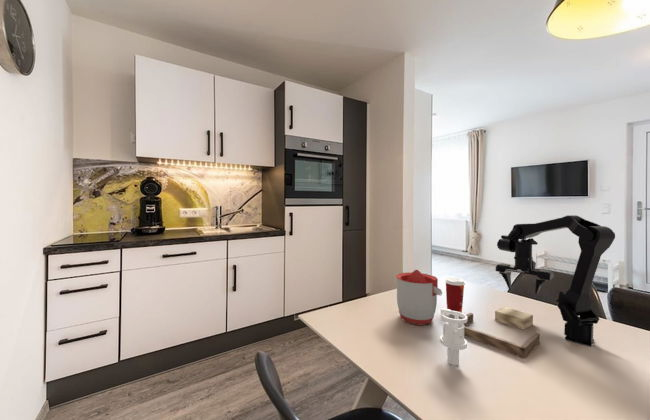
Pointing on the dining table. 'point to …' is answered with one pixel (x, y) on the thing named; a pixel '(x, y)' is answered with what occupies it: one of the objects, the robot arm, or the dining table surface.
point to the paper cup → (454, 294)
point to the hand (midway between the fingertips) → (522, 291)
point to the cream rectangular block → (514, 317)
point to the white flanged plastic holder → (453, 334)
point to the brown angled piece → (501, 340)
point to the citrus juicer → (417, 297)
